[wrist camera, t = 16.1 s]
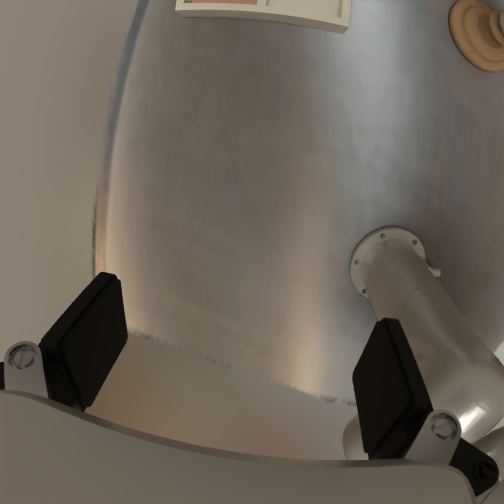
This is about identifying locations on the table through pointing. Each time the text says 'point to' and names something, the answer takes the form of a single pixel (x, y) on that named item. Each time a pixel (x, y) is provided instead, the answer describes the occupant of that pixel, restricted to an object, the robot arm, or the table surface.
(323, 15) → the carrier tray
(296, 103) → the table surface
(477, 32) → the candle holder
